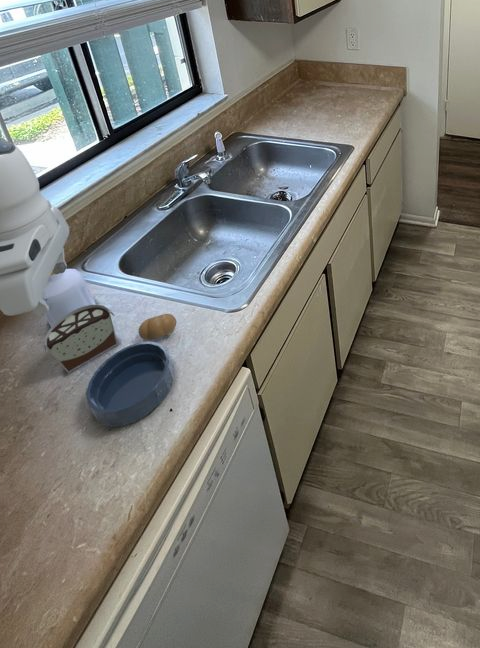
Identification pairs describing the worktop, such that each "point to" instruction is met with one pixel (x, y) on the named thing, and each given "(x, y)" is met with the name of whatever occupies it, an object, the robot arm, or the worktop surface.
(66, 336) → the cake slice
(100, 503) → the worktop surface
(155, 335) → the potato
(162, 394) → the bowl
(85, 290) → the soap bottle
